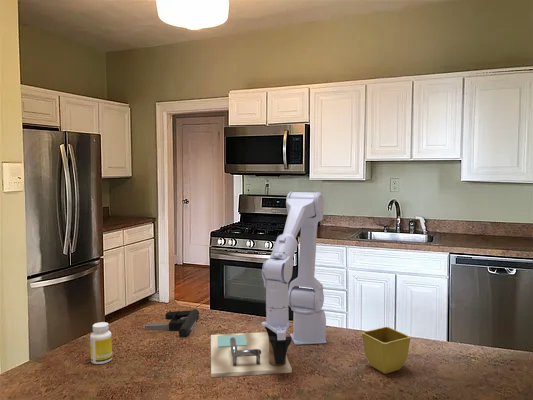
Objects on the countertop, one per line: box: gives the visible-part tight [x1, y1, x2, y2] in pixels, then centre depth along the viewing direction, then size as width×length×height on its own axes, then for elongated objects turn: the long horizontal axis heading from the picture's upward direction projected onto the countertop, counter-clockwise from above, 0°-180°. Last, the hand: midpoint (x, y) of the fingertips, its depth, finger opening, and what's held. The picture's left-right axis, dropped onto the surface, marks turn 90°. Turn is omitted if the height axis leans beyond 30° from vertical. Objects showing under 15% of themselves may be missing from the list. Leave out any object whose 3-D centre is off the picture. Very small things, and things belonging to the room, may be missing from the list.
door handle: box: [144, 308, 200, 338], centre depth 148 cm, size 3×20×16 cm
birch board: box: [210, 331, 293, 378], centre depth 125 cm, size 20×26×1 cm
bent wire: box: [230, 337, 261, 366], centre depth 120 cm, size 8×11×4 cm
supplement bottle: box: [89, 321, 113, 365], centre depth 121 cm, size 5×5×10 cm
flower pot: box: [361, 326, 411, 375], centre depth 115 cm, size 9×9×9 cm
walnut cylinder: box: [269, 341, 286, 366], centre depth 117 cm, size 4×4×6 cm
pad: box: [218, 335, 247, 348], centre depth 131 cm, size 8×8×1 cm
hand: (277, 357), depth 117 cm, fingers open, 7 cm apart
